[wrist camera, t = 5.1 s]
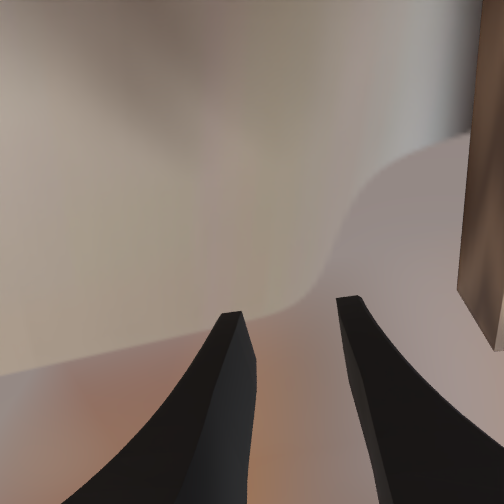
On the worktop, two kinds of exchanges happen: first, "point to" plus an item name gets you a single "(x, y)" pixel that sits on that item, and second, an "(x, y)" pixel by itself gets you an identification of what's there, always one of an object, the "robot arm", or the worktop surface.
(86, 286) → the worktop surface
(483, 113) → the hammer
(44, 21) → the worktop surface
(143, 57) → the worktop surface
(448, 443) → the robot arm
